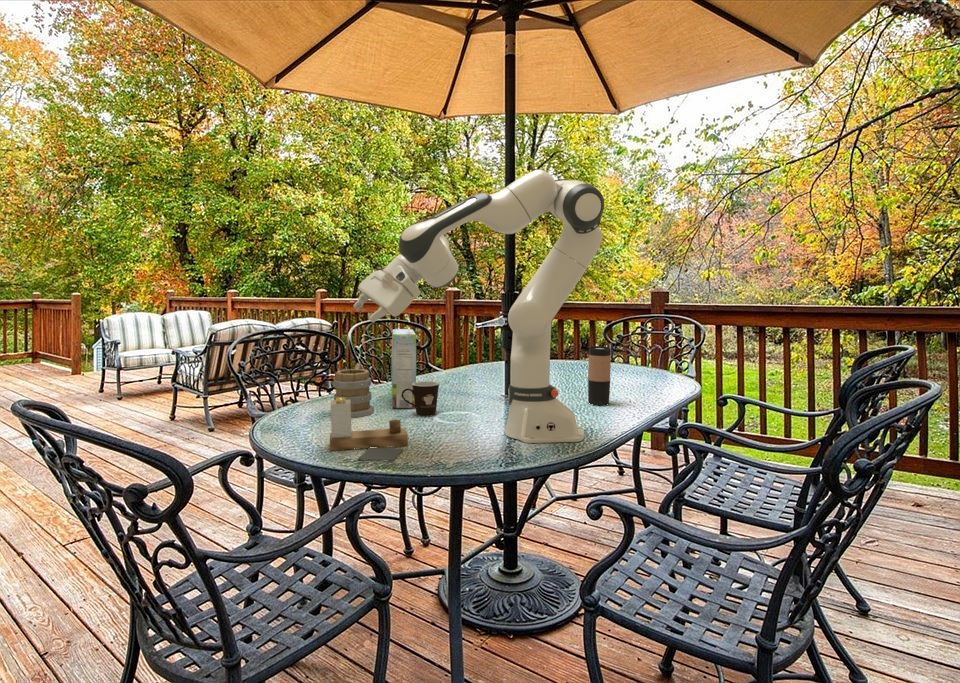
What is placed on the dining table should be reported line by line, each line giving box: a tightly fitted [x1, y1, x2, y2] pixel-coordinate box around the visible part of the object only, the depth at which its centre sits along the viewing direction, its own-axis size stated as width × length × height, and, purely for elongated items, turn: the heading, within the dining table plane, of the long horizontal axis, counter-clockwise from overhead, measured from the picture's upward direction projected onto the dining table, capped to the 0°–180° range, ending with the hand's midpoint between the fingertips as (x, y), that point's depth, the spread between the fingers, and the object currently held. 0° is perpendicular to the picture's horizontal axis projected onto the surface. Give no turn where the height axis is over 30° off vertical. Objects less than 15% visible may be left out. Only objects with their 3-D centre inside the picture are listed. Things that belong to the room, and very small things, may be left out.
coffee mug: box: [402, 380, 440, 417], centre depth 183 cm, size 12×9×10 cm
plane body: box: [329, 419, 409, 451], centre depth 149 cm, size 20×7×6 cm, turn 103°
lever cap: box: [330, 397, 352, 439], centre depth 147 cm, size 5×5×10 cm
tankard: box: [332, 362, 375, 419], centre depth 187 cm, size 20×13×15 cm, turn 179°
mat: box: [357, 447, 404, 462], centre depth 141 cm, size 9×9×1 cm
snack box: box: [391, 328, 417, 409], centre depth 199 cm, size 22×9×26 cm, turn 9°
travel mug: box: [587, 345, 612, 406], centre depth 196 cm, size 8×8×20 cm
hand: (362, 314), depth 148 cm, fingers open, 8 cm apart
